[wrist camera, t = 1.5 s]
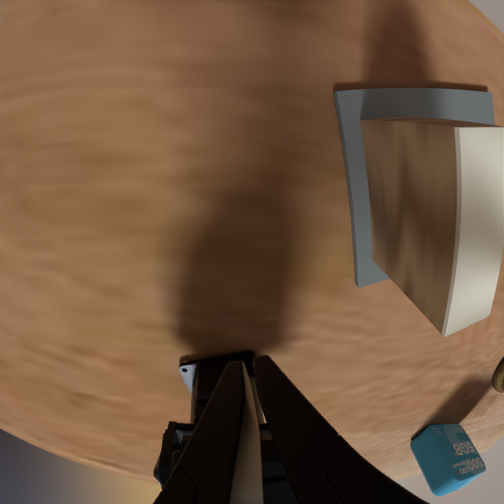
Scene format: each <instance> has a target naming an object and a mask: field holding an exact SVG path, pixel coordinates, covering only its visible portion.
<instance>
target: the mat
mask: <svg viewBox="0 0 504 504" xmlns="http://www.w3.org/2000/svg"><path fill="white" fill-rule="evenodd" d="M333 94H334V100H335V105H336V110H337V116H338V122H339V128H340V134H341V140H342V147H343V154H344V161H345V168H346V176H347V184H348V193H349V203H350V213H351V224H352V236H353V250H354V267H355V284H356V285H357V287H358V288H359V287H362V286H366V285H369V284H373V283H376V282H379V281H383V280H386V279H390V278H389V277H388V276H387V275H386V274H385V273H384V271H383V270H382V269H381V268H380V267H379V266H378V265H377V264H376V263H375V262H374V261H373V260H372V234H371V217H370V203H369V191H368V180H367V171H366V162H365V154H364V146H363V139H362V132H361V125H360V120H364V119H374V118H386V117H401V116H409V117H426V118H439V119H450V120H459V121H468V122H476V123H483V124H490V125H495V121H494V111H493V102H492V94H491V93H490V92H481V91H470V90H457V89H439V88H378V89H358V90H345V91H335V92H333Z"/></svg>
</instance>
